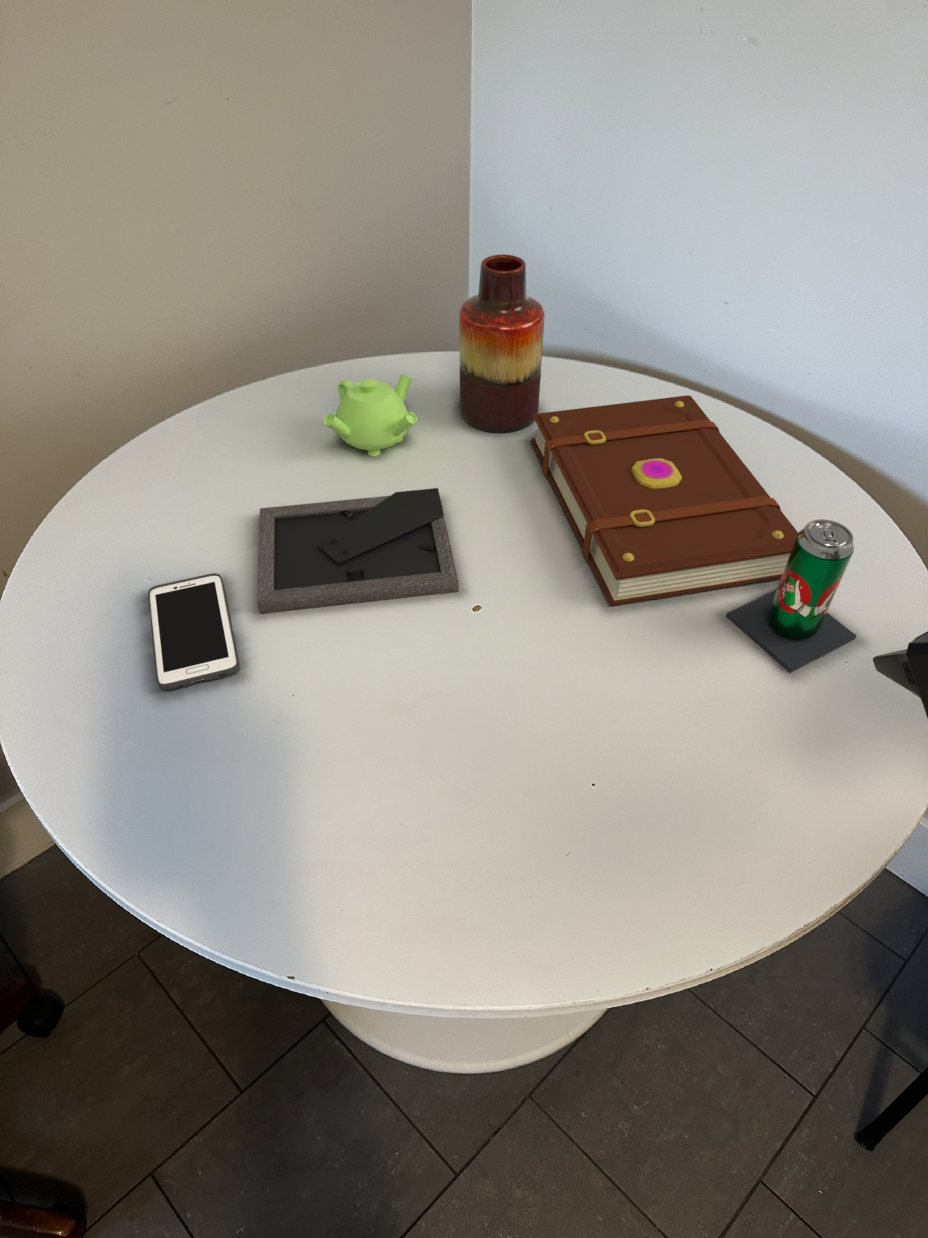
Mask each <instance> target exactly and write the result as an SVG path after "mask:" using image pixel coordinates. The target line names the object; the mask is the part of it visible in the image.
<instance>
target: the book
mask: <svg viewBox="0 0 928 1238" xmlns="http://www.w3.org/2000/svg"><path fill="white" fill-rule="evenodd" d="M532 415H533V417H534V419H535V421H534V422H535V424H536V425H537V426H536V427H537V429H536V435H535V437H533V438H531V439H530V441H529V442H530V444H531V446H532V448H533V450H534V452H535V454H536V457H537V458H538V460H539V462H540V465H541V467H542V473H543V475H544V477H545V479H548V481H549V483H550V485H551V488H552V489H553V491H554V493H555V495H556V498H557V500H558V502H559V504H560V505H561V508H562V510H563V512H564V514H565V516H566V518H567V520H568V523H569V525H570V526H571V529H572V530H573V533H574V535H575V537H576V538H577V541H578V543H579V545H580V547H581V549H582V553H581V554H582V556H583V559H584V560H585V562H586V563H588V564H589V566H590V568H591V570H592V572H593V574H594V576H595V578H596V580H597V582H598V584H599V586H600V589H601V591H602V592H603V595H604V597H605V599H606V601H607V603H608V605H609V606H610V607H613V606H618V605H625V604H630V603H636V602H637V603H638V602H644V601H650V600H657V599H662V598H663V599H664V598H668V597H676V596H682V595H686V594H687V595H689V594H694V593H695V594H696V593H700V592H708V591H712V590H718V589H724V588H725V589H726V588H731V587H732V588H733V587H738V586H745V585H750V584H757V583H764V582H770V581H776V580H781V578H782V575H783V572H784V570H785V567H786V564H787V561H788V559H789V556H790V553H791V551H792V548H793V545H794V542H795V540H796V537H797V534H798V533H799V531H798V530H797V529H796V527H794V525H793V524H792V523H791V522H790V520H789V519H788V518H787V516H786V515H785V513H783V511H782V510H781V506H780V504H779V503H778V501H776V499H775V498H774V497H771V496H770V494H768V492H767V491H766V490H765V488H764V487H763V486H762V485H761V483H760V482H759V481H758V479H757V478H756V476H755V475H754V474H753V473H752V472H751V471H750V469H749V468H748V467H747V465H746V464H745V463H744V461H742V459H741V458H740V456H739V455H738V454H737V453H736V451H735V450H734V449H733V448H732V446H731V444H729V442H728V441H727V440H726V439H725V437H724V436H723V435H722V433H721V432H720V429H719V426H718V425H716V423H715V422H714V421H711V420H710V418H709V417H708V416H707V414H706V413H705V412H704V410H703V409H702V408H701V406H699V404H698V403H697V401H696V400H695V399H694V398H693V397H692V395H688V394H687V395H680V396H679V395H677V396H671V397H663V398H655V399H647V400H639V401H630V402H629V401H628V402H620V403H612V404H605V405H604V404H603V405H596V406H588V407H581V408H572V409H565V410H564V409H563V410H556V411H554V410H553V411H547V412H538V414H532Z"/></svg>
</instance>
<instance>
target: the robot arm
mask: <svg viewBox="0 0 928 1238" xmlns="http://www.w3.org/2000/svg"><path fill="white" fill-rule="evenodd" d="M872 662H873V665H874V669H875V670H876V671H877V672H878V673H879V674H881V675H883V676H884V677H886V678H888V679H889V680H891V681H892V682H894V683H895V684H898V685H899V686H901V687H902V688H904V689H906V690H907V691H909V692H910V693H912V694H914V695H915V696H917V697H918V698H919V699H920V701H921V703H922V706H923V709H924V712H925V715H926V718H927V719H928V631H926V632H923V633H922V634H920V635H918V636H916V637H915V638H914V639H913V640H911V641H910V642H908V645H907V647H906V649H901V650H895V651H891V652H887V653H883V654H878V655H875V656H874V657H873V658H872Z"/></svg>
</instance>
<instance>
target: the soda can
mask: <svg viewBox="0 0 928 1238" xmlns="http://www.w3.org/2000/svg"><path fill="white" fill-rule="evenodd" d="M854 552H855V546H854V534H853V532H851V530H850V529H849V528H848V527H847V526H845V525H843V524H841V523H840V522H837V521H834V520H831V519H824V518H823V519H821V518H820V519H813V520H811V521H809V522H807V524H805V525H804V527H803V528H801V529H800V530H799V531H798V534H797V537H796V540H795V542H794V545H793V548H792V551H791V553H790V556H789V559H788V561H787V564H786V567H785V570H784V572H783V575H782V578H781V579H779V583H778V586H777V589H776V590H777V591H776V594H775V597H774V599H773V602H772V605H771V608H770V610H769V613H768V620H769V623H770V624H771V626H772V627H773V629H774V630H775V631H776V632H777V633H779V634H780V635H782V636H784V637H786V638H789V639H794V640H802V639H807V638H810V637H813V636H814V635H816V634H817V633H818V631H819V629H820V627H821V625H822V622H823V620H824V618H825V615H826V613H828V611H829V609H830V606H831V604H832V602H833V599H834V598H835V595H836V593H837V590H838V588H839V586H840V585H841V582H842V579H843V577H844V575H845V572H846V570H847V568H848V566H849V563H850V561H851V559H852V556H853V554H854Z"/></svg>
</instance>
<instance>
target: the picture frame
mask: <svg viewBox="0 0 928 1238" xmlns="http://www.w3.org/2000/svg"><path fill="white" fill-rule="evenodd" d="M258 523H259V525H258V526H259V527H258V534H259V535H258V561H257V563H258V564H257V594H256V595H257V600H256V603H257V608H258V611H259V614H260V615H261V614H269V613H279V612H286V611H297V610H298V611H299V610H304V609H314V608H325V607H332V606H340V605H351V604H360V603H369V602H378V601H387V600H394V599H405V598H412V597H422V596H431V595H440V594H441V595H442V594H449V593H457V592H459V578H458V577H459V576H458V572H457V568H456V563H455V559H454V555H453V551H452V546H451V542H450V537H449V531H448V529H447V525H446V520H445V514H444V509H443V505H442V499H441V496H440V491H439V488H438V487H433V488H423V489H414V490H403V491H395V492H394V493H392V494H391V495H384V496H383V495H381V496H371V497H363V498H362V497H361V498H351V499H341V500H332V501H321V502H320V501H319V502H311V503H300V504H289V505H279V506H271V507H260V508H259V522H258Z"/></svg>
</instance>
